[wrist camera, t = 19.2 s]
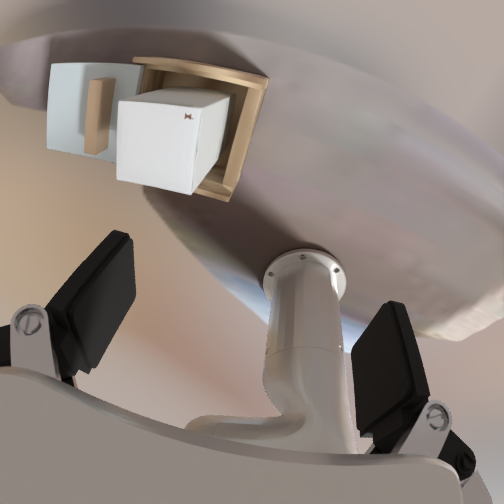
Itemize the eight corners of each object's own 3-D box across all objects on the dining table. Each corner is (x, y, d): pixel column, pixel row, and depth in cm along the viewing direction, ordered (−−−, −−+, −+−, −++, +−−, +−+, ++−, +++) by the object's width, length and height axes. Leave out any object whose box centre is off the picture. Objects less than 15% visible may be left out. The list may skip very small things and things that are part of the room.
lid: (144, 65, 22) (128, 66, 20) (130, 163, 29) (115, 174, 26) (55, 63, 22) (37, 66, 19) (50, 146, 28) (34, 155, 26)
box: (269, 78, 27) (264, 79, 22) (239, 177, 35) (228, 202, 29) (162, 57, 27) (133, 56, 21) (145, 152, 34) (118, 172, 29)
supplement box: (175, 84, 28) (116, 96, 18) (238, 93, 28) (206, 106, 18) (167, 141, 32) (113, 180, 22) (225, 153, 32) (192, 197, 22)
